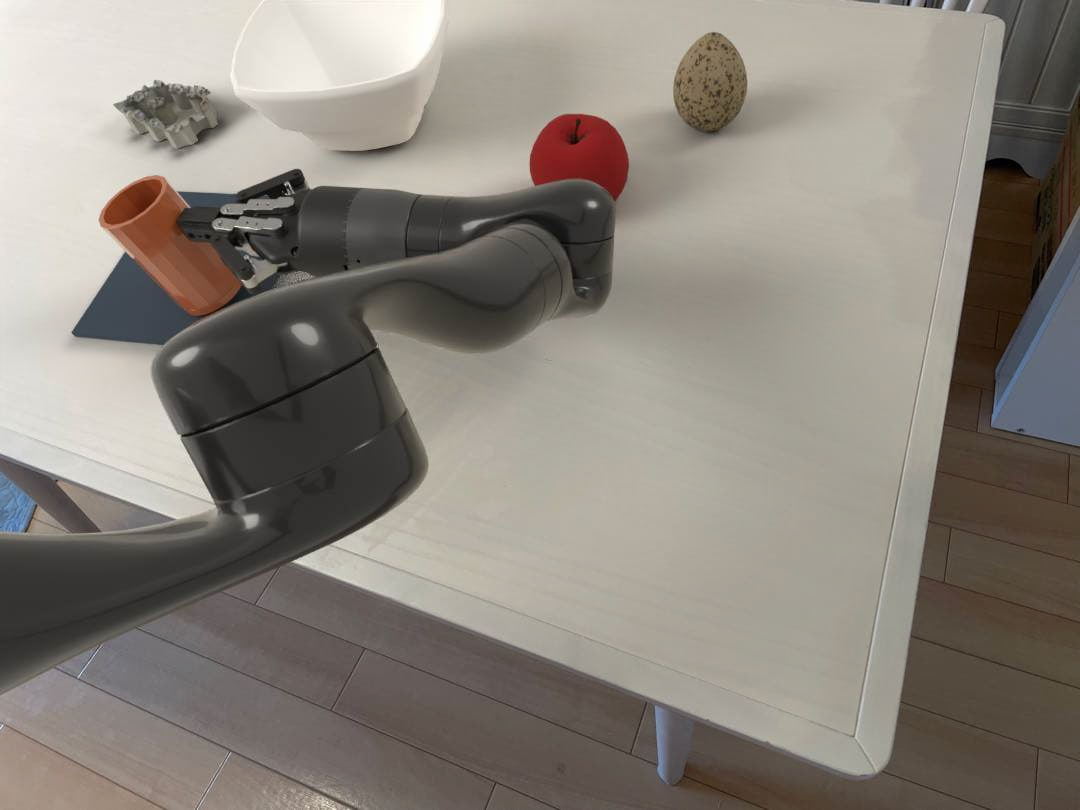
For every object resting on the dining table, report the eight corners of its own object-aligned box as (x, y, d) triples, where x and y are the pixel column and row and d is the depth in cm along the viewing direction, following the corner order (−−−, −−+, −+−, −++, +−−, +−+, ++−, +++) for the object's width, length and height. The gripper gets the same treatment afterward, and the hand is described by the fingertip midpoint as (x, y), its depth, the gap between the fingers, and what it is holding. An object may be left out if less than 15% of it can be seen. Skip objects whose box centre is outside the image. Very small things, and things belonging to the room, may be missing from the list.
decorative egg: (742, 101, 83) (750, 9, 75) (745, 146, 79) (754, 54, 71) (672, 105, 84) (674, 15, 76) (672, 149, 80) (673, 59, 72)
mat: (240, 352, 72) (237, 348, 72) (74, 336, 76) (70, 332, 76) (317, 201, 83) (315, 197, 82) (168, 194, 87) (165, 190, 86)
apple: (634, 170, 79) (631, 80, 71) (624, 234, 74) (619, 146, 66) (544, 169, 81) (531, 82, 73) (529, 231, 76) (512, 146, 68)
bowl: (461, 181, 82) (434, 81, 72) (258, 197, 84) (206, 103, 75) (477, 56, 94) (456, -44, 84) (300, 74, 97) (260, -21, 87)
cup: (225, 314, 72) (142, 224, 64) (172, 317, 75) (85, 231, 67) (255, 262, 76) (179, 170, 68) (203, 267, 78) (123, 180, 70)
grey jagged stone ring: (229, 119, 93) (213, 88, 90) (181, 156, 90) (162, 126, 87) (173, 95, 98) (155, 65, 94) (125, 130, 95) (106, 100, 91)
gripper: (382, 144, 65) (196, 136, 68) (326, 263, 58) (122, 247, 61) (406, 213, 71) (234, 203, 74) (358, 328, 64) (171, 310, 68)
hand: (184, 223), depth 68 cm, fingers closed
